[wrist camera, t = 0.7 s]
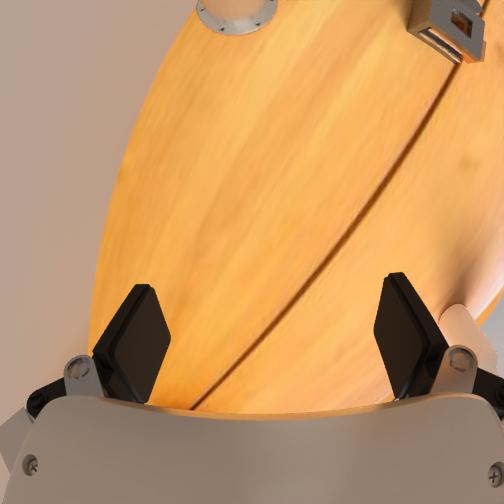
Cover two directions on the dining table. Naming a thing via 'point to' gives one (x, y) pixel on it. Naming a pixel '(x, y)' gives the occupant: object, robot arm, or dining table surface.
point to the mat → (472, 5)
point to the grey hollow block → (449, 29)
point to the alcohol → (468, 336)
